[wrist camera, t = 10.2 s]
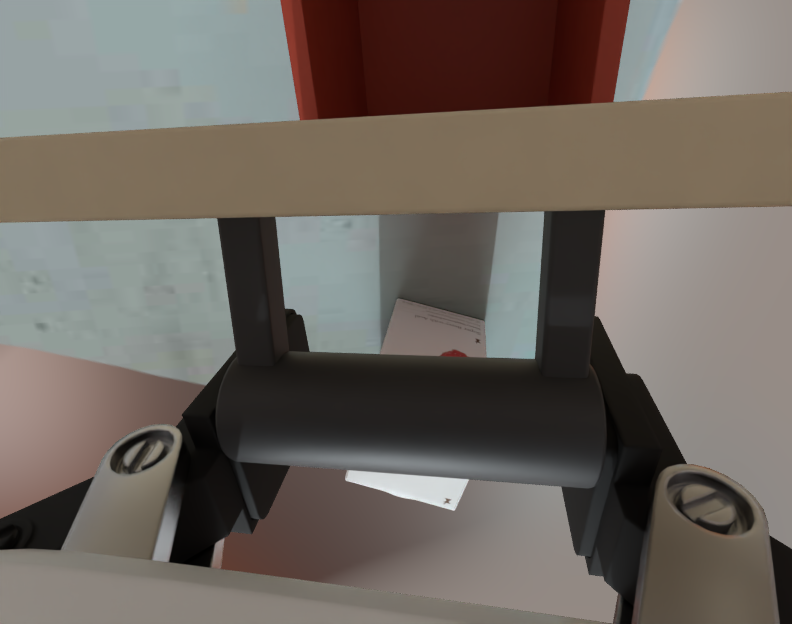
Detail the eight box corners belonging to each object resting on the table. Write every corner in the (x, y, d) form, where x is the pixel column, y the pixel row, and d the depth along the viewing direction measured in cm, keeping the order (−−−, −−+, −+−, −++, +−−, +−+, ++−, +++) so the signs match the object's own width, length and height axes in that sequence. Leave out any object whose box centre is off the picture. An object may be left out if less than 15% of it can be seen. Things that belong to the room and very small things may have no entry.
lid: (-247, 151, 5) (-94, 522, 7) (1483, 50, 3) (1124, 665, 4) (306, 179, 23) (314, 278, 24) (604, 168, 21) (594, 279, 22)
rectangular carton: (488, 319, 41) (496, 436, 28) (460, 388, 46) (457, 515, 33) (396, 294, 41) (362, 400, 28) (378, 365, 46) (342, 484, 33)
